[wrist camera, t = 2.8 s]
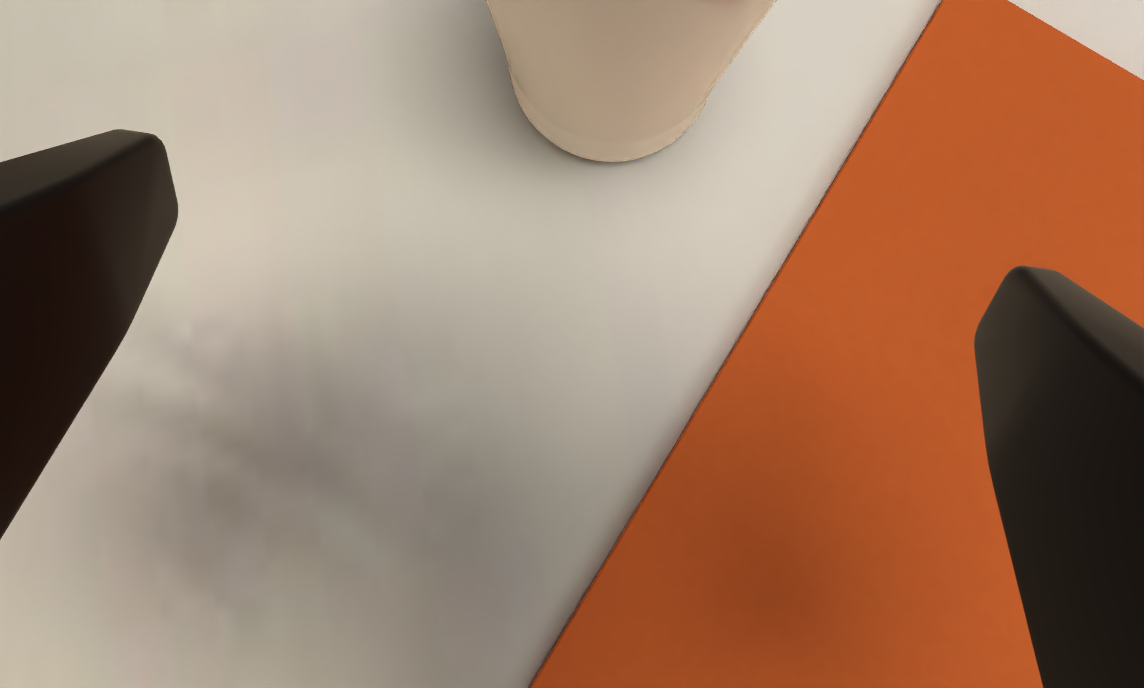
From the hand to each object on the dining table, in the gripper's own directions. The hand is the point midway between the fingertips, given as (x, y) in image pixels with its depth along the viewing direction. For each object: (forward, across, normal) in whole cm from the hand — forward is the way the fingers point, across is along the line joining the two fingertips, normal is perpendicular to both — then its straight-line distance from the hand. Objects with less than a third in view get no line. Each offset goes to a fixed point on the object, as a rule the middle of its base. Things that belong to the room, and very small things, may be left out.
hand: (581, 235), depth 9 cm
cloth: (+8, -10, +10) cm, 17 cm away
